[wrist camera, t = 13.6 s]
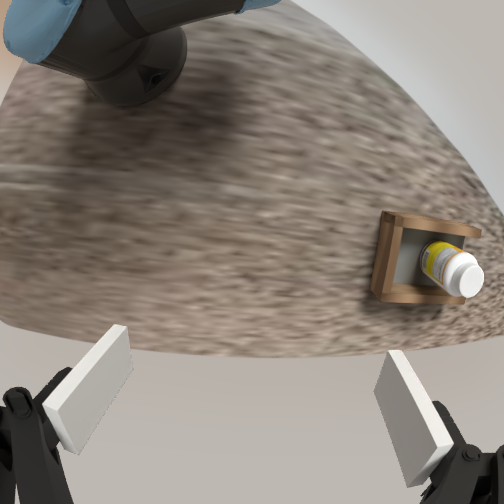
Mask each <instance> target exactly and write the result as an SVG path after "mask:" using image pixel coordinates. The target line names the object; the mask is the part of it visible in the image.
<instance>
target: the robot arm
mask: <svg viewBox="0 0 504 504" xmlns="http://www.w3.org/2000/svg"><path fill="white" fill-rule="evenodd" d="M280 1H281V0H12V2H11V4H10V6H9V9H8V11H7V14H6V17H5V22H4V28H3V38H4V43H5V46H6V48H7V49H8V51H10V52H11V53H12V54H14V55H16V56H18V57H21V58H23V59H25V60H26V61H28V63H31V64H38V65H41V66H44V67H48V68H51V69H54V70H57V71H60V72H63V73H66V74H69V75H72V76H75V77H78V78H81V79H83V80H84V81H85V82H86V83H87V85H88V87H89V88H90V90H91V91H92V92H93V94H94V95H95V96H97V97H98V98H99V99H101V100H103V101H104V102H107V103H110V104H113V105H116V106H123V107H129V106H136V105H140V104H143V103H145V102H148V101H150V100H152V99H154V98H155V97H157V96H158V95H160V94H161V93H162V92H164V91H165V90H166V89H167V88H168V87H169V86H170V85H171V84H172V83H173V81H174V80H175V79H176V78H177V76H178V75H179V73H180V71H181V69H182V67H183V65H184V62H185V59H186V54H187V40H186V36H185V34H184V32H183V30H182V28H181V27H180V26H182V25H185V24H189V23H193V22H196V21H200V20H204V19H208V18H213V17H217V16H222V15H227V14H232V13H234V14H241V13H243V12H244V11H246V10H251V9H256V8H262V7H267V6H272V5H275V4H277V3H278V2H280ZM132 371H133V363H132V357H131V351H130V344H129V337H128V329H127V327H126V326H121V325H116V324H114V325H113V326H112V327H111V328H110V329H109V330H108V331H107V333H106V334H105V335H104V336H103V337H102V338H101V339H100V340H99V341H98V342H97V343H96V344H95V346H94V347H92V349H91V350H90V351H89V352H88V353H87V354H86V355H85V356H84V357H83V358H82V359H81V361H80V362H79V363H78V364H77V365H76V366H75V367H74V368H70V367H67V368H65V369H63V370H61V371H59V372H58V373H57V374H56V375H55V376H54V377H53V379H52V380H51V381H50V382H49V383H48V385H46V386H45V387H44V388H43V389H42V391H40V393H39V394H38V395H37V396H36V397H35V398H34V399H32V397H31V394H30V392H29V391H28V390H27V389H26V388H23V387H14V388H11V389H9V390H8V391H6V393H5V394H4V396H3V401H4V403H5V405H6V407H3V406H0V504H15V489H16V484H17V490H18V495H19V500H20V504H74V503H73V500H72V497H71V495H70V491H69V488H68V485H67V482H66V478H65V475H64V471H63V467H62V464H61V460H60V456H59V452H58V449H57V447H56V446H57V444H58V443H59V441H60V442H61V444H62V446H63V448H64V449H65V450H67V451H70V452H72V453H74V454H77V455H79V454H80V453H81V451H82V449H83V448H84V446H85V444H86V443H87V441H88V440H89V438H90V436H91V434H92V433H93V432H94V430H95V428H96V427H97V425H98V424H99V422H100V420H101V419H102V417H103V416H104V414H105V412H106V411H107V409H108V408H109V406H110V405H111V403H112V402H113V400H114V398H115V397H116V395H117V394H118V392H119V391H120V389H121V388H122V386H123V385H124V383H125V381H126V380H127V378H128V377H129V375H130V374H131V372H132ZM374 394H375V396H376V399H377V402H378V404H379V407H380V410H381V412H382V415H383V418H384V421H385V423H386V426H387V429H388V432H389V435H390V437H391V440H392V443H393V446H394V449H395V452H396V455H397V458H398V461H399V464H400V467H401V470H402V472H403V476H404V479H405V482H406V486H407V488H408V487H413V486H418V485H422V484H423V483H424V482H425V481H426V480H427V478H428V477H430V479H431V482H432V483H431V484H430V485H429V486H428V487H427V489H426V490H425V491H424V492H423V493H422V495H421V496H423V495H424V496H423V499H422V500H421V502H420V504H504V445H502V446H500V447H499V449H498V450H497V451H496V453H482V452H481V450H480V449H479V448H478V447H476V446H474V445H470V444H466V442H465V440H464V438H463V437H462V435H461V433H460V431H459V429H458V428H457V426H456V424H455V423H454V420H453V419H452V417H451V416H450V414H449V412H448V410H447V408H446V407H445V406H444V405H443V404H441V403H440V402H439V401H431V400H430V398H429V397H428V395H427V393H426V391H425V389H424V388H423V386H422V384H421V382H420V381H419V379H418V377H417V376H416V374H415V372H414V371H413V369H412V367H411V366H410V364H409V362H408V361H407V359H406V357H405V356H404V354H403V352H402V351H401V350H388V352H387V355H386V358H385V361H384V364H383V367H382V370H381V373H380V375H379V378H378V381H377V384H376V386H375V389H374Z"/></svg>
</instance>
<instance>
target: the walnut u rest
mask: <svg viewBox="0 0 504 504" xmlns="http://www.w3.org/2000/svg"><path fill="white" fill-rule="evenodd" d="M481 231H482V230H481V229H478V228H476V227H473V226H470V225H468V224H465V223H460V222H454V221H448V220H442V219H436V218H430V217H424V216H417V215H411V214H404V213H397V212H390V211H382V218H381V225H380V232H379V239H378V245H377V251H376V257H375V262H374V268H373V273H372V278H371V284H370V289H371V290H372V292H373V293H374V294H375V296H376V297H377V298H378V300H379V301H380V302H397V303H424V304H464V303H465V300H466V297H464V296H459V297H456V296H452V295H450V294H449V293H448V292H446V291H445V290H444V289H443V288H441V287H440V286H439V285H438V284H436V283H435V282H434V281H433V280H431V279H430V278H429V277H428V276H426V275H425V274H424V273H423V271H422V270H421V267H420V256H421V252H422V250H423V249H424V247H425V246H426V245H427V244H428V243H429V242H431V241H433V240H442V241H445V242H447V243H449V244H451V245H453V246H455V247H457V248H459V249H461V250H462V249H463V244H464V238H465V236H468V237H475V238H480V237H481Z"/></svg>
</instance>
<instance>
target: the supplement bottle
mask: <svg viewBox="0 0 504 504" xmlns="http://www.w3.org/2000/svg"><path fill="white" fill-rule="evenodd" d="M420 267H421V270H422V271H423V273H424V274H425V275H426V276H428V277H429V278H430V279H431V280H433V281H434V282H435V283H436V284H438V285H439V286H440V287H441V288H443V289H444V290H445V291H446V292H448V293H449V294H450V295H452V296H456V297H459V296H464V297H466V298H470V297H473V296H475V295H476V294H477V293H478V292H479V290H480V289H481V287H482V285H483V281H484V273H483V271H482V269H481V268H480V267H479V266H478V263H477V261H476V259H475V258H474V257H473V256H472V255H471V254H469V253H467V252H465V251H463V250H461V249H459V248H457V247H455V246H453V245H451V244H449V243H447V242H445V241H442V240H433V241H431V242H429V243H428V244H427V245H426V246H425V247H424V249H423V250H422V252H421V256H420Z"/></svg>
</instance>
